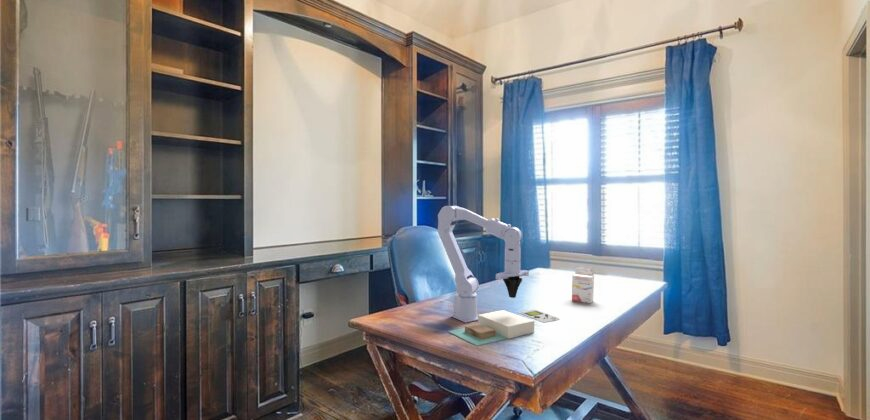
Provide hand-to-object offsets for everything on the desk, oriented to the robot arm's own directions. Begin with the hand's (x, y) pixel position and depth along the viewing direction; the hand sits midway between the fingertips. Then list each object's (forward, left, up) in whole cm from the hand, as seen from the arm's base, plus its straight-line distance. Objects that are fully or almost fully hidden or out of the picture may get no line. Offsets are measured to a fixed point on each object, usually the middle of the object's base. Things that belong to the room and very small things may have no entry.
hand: (512, 297), depth 151 cm
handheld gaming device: (-2, +16, -10) cm, 19 cm away
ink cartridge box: (-8, +50, -10) cm, 52 cm away
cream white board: (+3, -6, -10) cm, 12 cm away
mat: (+3, -19, -10) cm, 21 cm away
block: (+3, -18, -8) cm, 19 cm away
